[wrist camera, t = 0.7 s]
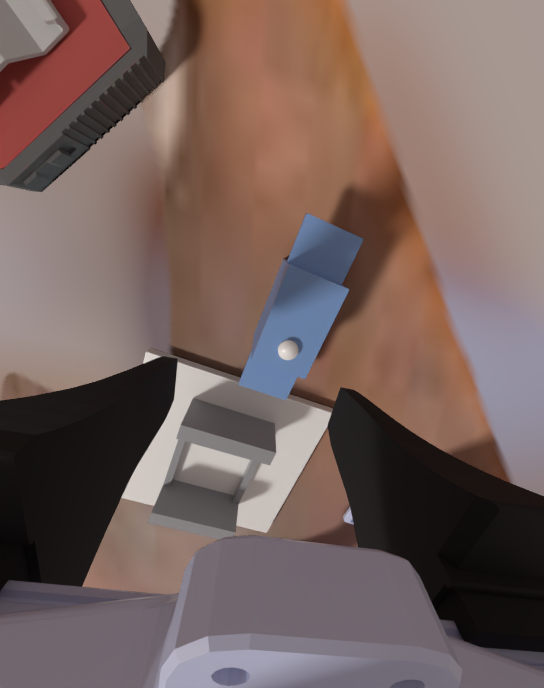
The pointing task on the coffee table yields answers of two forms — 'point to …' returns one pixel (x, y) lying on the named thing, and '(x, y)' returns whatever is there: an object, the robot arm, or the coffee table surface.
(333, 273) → the block
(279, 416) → the pocket plate
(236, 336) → the coffee table surface
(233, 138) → the coffee table surface
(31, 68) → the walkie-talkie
